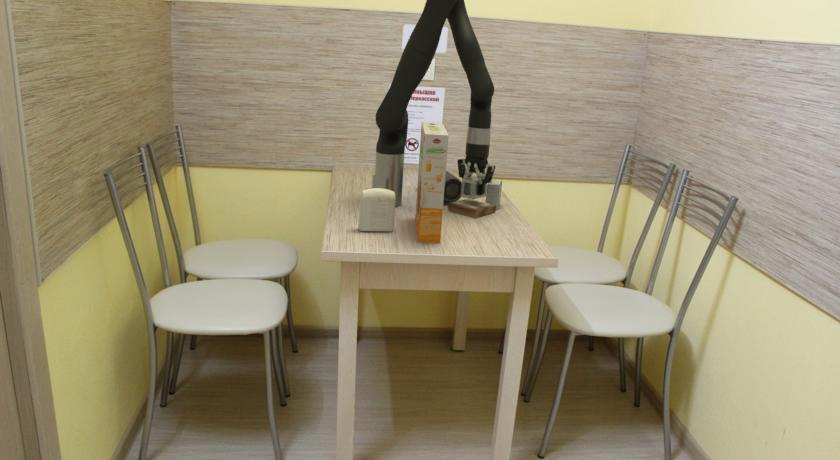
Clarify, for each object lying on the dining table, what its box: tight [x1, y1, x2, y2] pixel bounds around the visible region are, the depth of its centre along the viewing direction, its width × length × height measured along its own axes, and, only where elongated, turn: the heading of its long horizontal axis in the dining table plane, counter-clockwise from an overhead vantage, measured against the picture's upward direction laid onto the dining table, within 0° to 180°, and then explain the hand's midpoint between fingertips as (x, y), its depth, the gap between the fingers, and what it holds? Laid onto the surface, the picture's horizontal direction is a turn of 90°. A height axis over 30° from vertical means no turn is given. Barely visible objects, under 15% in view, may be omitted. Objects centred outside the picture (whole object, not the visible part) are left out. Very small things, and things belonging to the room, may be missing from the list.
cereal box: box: [414, 121, 450, 244], centre depth 193 cm, size 22×6×30 cm, turn 2°
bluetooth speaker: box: [443, 170, 462, 203], centre depth 236 cm, size 23×9×10 cm, turn 20°
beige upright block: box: [358, 188, 396, 232], centre depth 193 cm, size 10×4×12 cm, turn 103°
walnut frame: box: [447, 198, 496, 219], centre depth 221 cm, size 11×11×3 cm
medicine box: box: [485, 178, 503, 211], centre depth 228 cm, size 8×4×9 cm, turn 168°
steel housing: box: [461, 175, 488, 200], centre depth 219 cm, size 7×5×6 cm
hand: (473, 193), depth 219 cm, fingers closed on steel housing, 5 cm apart
